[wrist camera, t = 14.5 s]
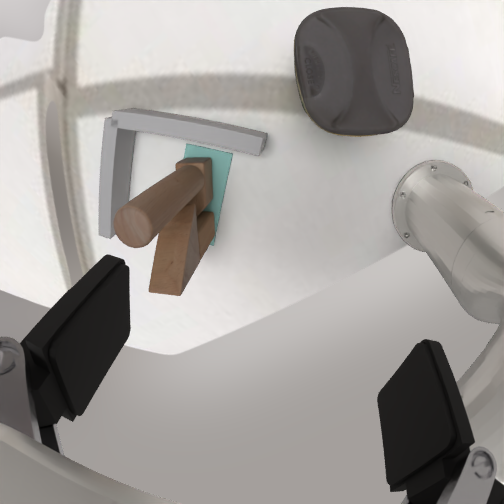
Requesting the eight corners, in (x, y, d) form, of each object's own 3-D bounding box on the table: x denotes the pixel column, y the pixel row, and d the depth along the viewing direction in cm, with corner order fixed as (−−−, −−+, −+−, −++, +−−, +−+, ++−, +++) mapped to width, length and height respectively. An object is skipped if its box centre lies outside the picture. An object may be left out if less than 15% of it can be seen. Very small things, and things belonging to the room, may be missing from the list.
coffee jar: (290, 47, 29) (282, -3, 13) (357, 44, 28) (410, -2, 12) (301, 125, 34) (305, 147, 17) (367, 121, 32) (429, 143, 16)
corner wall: (267, 133, 35) (263, 138, 30) (237, 255, 43) (230, 274, 38) (126, 107, 35) (105, 110, 30) (116, 221, 43) (98, 235, 39)
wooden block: (190, 234, 42) (132, 316, 26) (184, 157, 37) (106, 204, 21) (216, 235, 42) (168, 322, 26) (212, 156, 37) (148, 204, 21)
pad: (232, 153, 36) (232, 154, 36) (213, 245, 43) (213, 245, 42) (186, 143, 36) (186, 143, 36) (173, 234, 43) (172, 234, 43)
